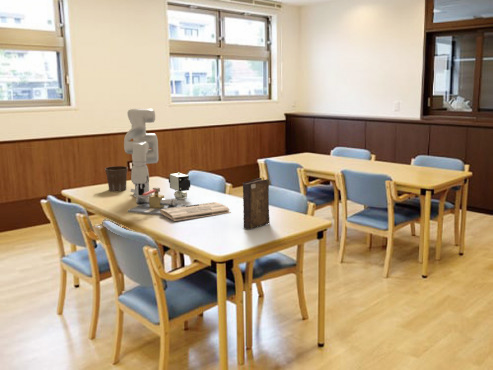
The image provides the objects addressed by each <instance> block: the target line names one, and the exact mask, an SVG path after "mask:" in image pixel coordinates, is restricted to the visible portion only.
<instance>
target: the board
mask: <svg viewBox="0 0 493 370" xmlns="http://www.w3.org/2000/svg"><path fill="white" fill-rule="evenodd" d="M182 206H186V203H178V204H177V207H182ZM167 208H168V206H165V205H164V207H162V208H160V209H167ZM160 209H157V208H149V204H147V205H146V206H144V207H138V205H137V206H134V207H132V208H130V209H127V213H134V214H144V215H145V214H146V215H156V216H164V215H163V214H162V213H160Z"/></svg>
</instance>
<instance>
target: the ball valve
mask: <svg viewBox="0 0 493 370" xmlns="http://www.w3.org/2000/svg"><path fill="white" fill-rule="evenodd" d="M168 184H169V188H170V189H172V190H174V193H173V195H174V198H176V199H177V200H185V198H187V197H188V192H187V191H190V188H191V180H190V176H189V175H187V174H185V173H181V172H179V171H178V172H176V173H169V177H168Z"/></svg>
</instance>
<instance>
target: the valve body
mask: <svg viewBox="0 0 493 370" xmlns="http://www.w3.org/2000/svg"><path fill="white" fill-rule="evenodd" d="M135 198H136V199H135V202H136V204H137V206H138V207H144V206H146V205H147V204H149V208H157V209H160V208H162V207H164V205H165V206H168V208H174V207H177V204H179V203H178V200H179V199H178V198H176V197H174V198H172V199H170V198H169V199H168V198H165V195H163V194H159V192H154V194H152V195H151V196H148V197H142V196H137V197H135Z"/></svg>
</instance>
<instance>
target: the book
mask: <svg viewBox="0 0 493 370" xmlns="http://www.w3.org/2000/svg"><path fill="white" fill-rule="evenodd" d="M269 187H270V178H266V179H263V177H258V178H256V179H251V180H249V181H248V180H247V181H244V182H243V183H242V199H243V203H242V206H243V218H242V219H243V229H247V230H254V229H256V228H259V227H262V226H266V225H265V224H267V225H269V224H270V203H269V200H270V199H269V198H270V197H269V196H270V195H269V192H270V190H269ZM268 223H269V224H268Z"/></svg>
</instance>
